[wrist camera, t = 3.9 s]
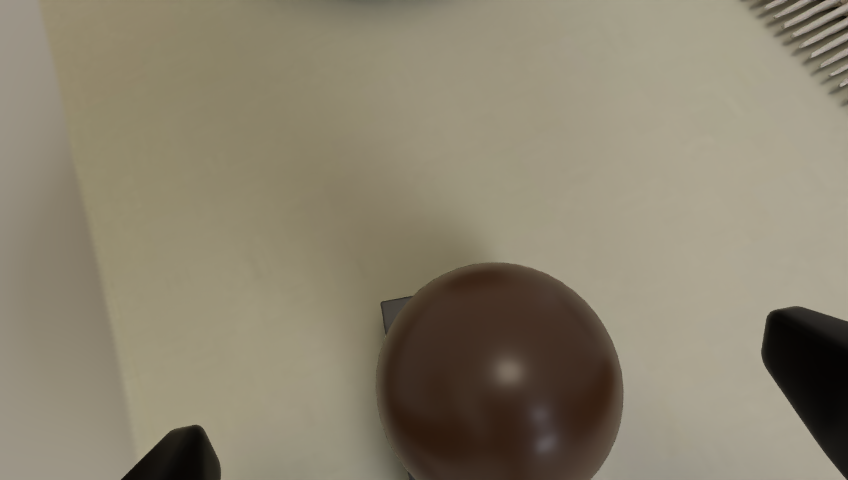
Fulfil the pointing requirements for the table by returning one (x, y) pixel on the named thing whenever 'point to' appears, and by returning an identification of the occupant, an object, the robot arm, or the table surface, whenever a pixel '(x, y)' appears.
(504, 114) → the table surface
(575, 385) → the stamp
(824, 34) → the grooming comb
